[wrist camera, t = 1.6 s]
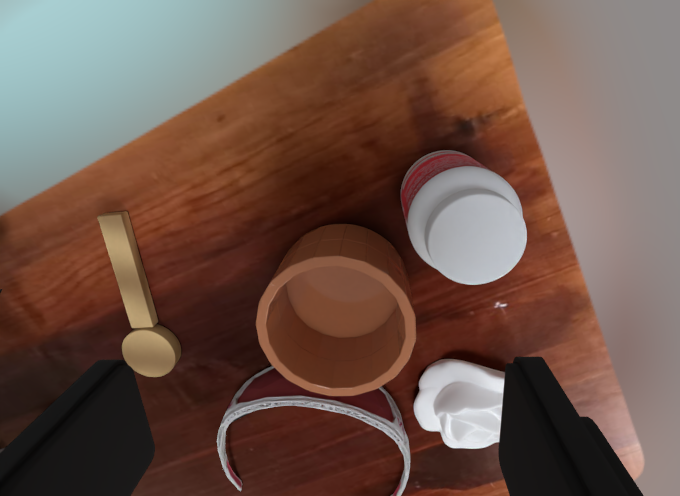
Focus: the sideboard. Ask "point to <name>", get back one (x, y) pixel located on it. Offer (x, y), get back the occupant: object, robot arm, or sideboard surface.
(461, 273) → the pill bottle
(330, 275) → the pot
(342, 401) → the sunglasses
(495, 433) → the rose
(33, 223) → the sideboard surface
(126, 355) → the wooden spoon
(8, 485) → the robot arm
